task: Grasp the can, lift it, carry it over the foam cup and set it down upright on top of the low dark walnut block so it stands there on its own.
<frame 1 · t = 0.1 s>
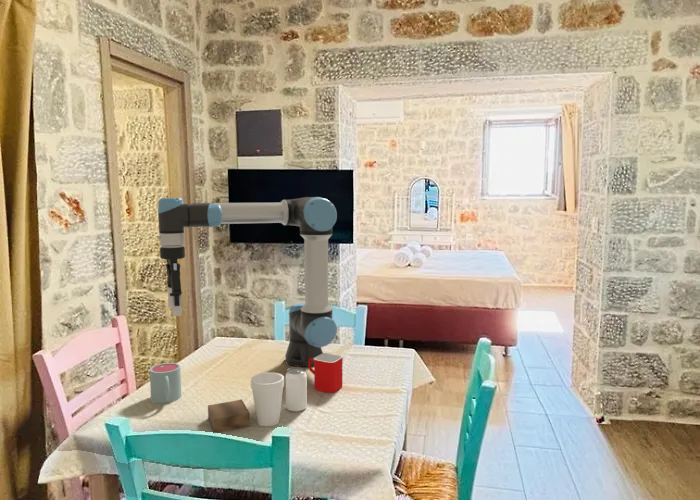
hand: (174, 311, 160), 28 cm above the table, fingers open, 13 cm apart
can: (296, 408, 152), on the table
walnut block: (228, 422, 142), on the table
mug: (323, 387, 169), on the table
foam cup: (268, 421, 143), on the table
mug 2: (166, 400, 158), on the table
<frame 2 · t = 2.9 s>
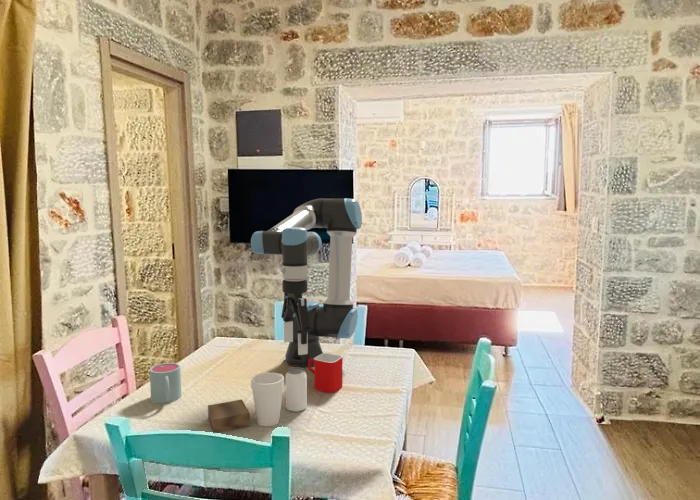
hand: (295, 347, 150), 19 cm above the table, fingers open, 13 cm apart
nothing on the table moved.
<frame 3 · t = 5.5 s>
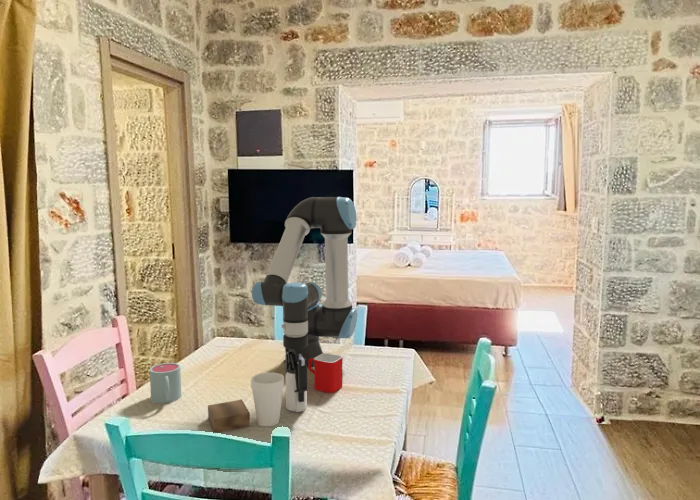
hand: (296, 406, 152), 0 cm above the table, fingers closed on can, 6 cm apart
can: (296, 408, 152), on the table, touching gripper
everything else where it was.
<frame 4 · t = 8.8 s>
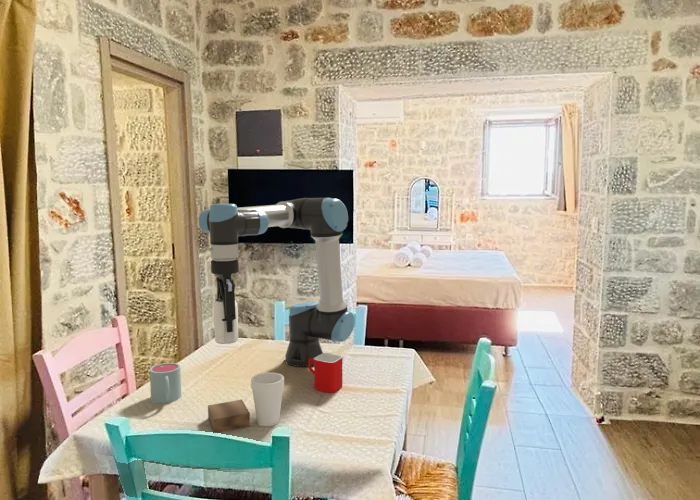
hand: (226, 339, 140), 25 cm above the table, fingers closed on can, 6 cm apart
can: (226, 341, 140), point 24 cm above the table, touching gripper
everything else where it was.
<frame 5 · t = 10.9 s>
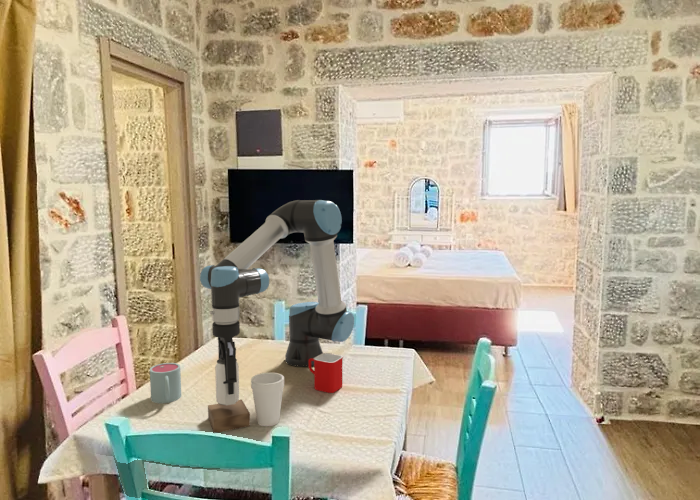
hand: (227, 399, 142), 7 cm above the table, fingers closed on can, 6 cm apart
can: (227, 401, 142), point 6 cm above the table, touching gripper
everything else where it was.
when the fingers open (5 cm above the table, at t = 12.4 s): can stays where it is, resting on walnut block.
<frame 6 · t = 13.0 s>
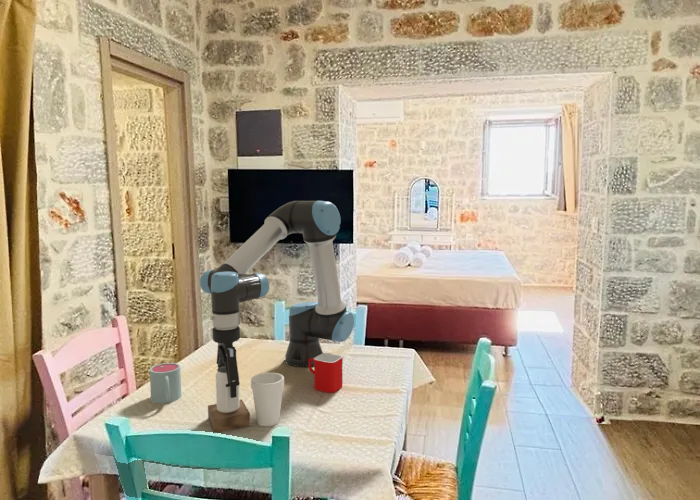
hand: (228, 398, 142), 7 cm above the table, fingers open, 13 cm apart
can: (228, 409, 142), point 4 cm above the table, touching walnut block
everything else where it was.
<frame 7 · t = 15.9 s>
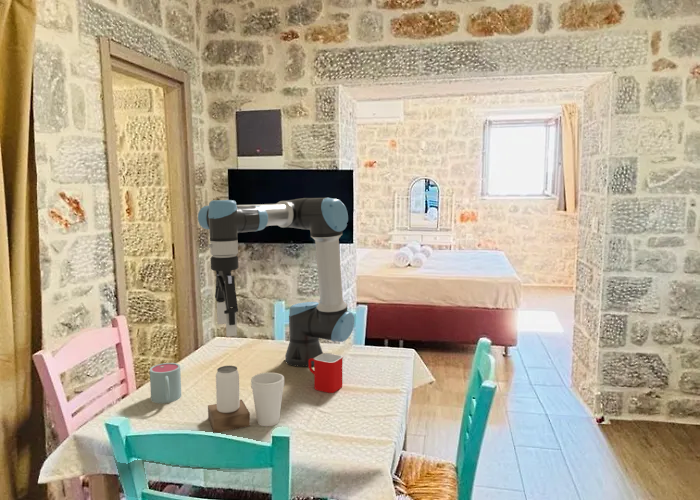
hand: (226, 329, 140), 28 cm above the table, fingers open, 13 cm apart
nothing on the table moved.
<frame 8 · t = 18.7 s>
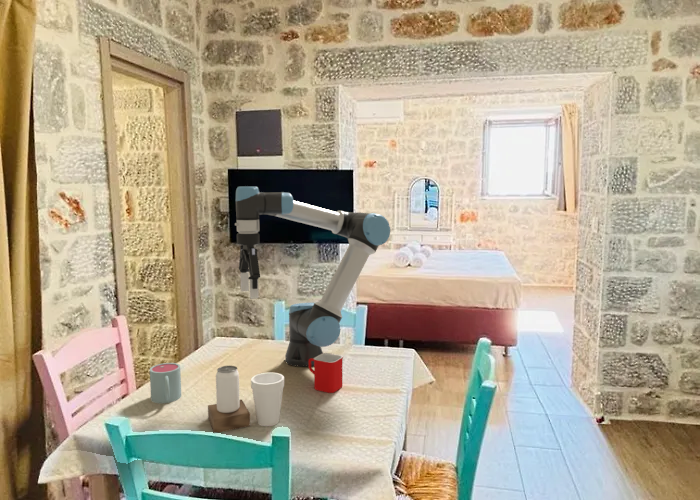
hand: (249, 294, 168), 32 cm above the table, fingers open, 13 cm apart
nothing on the table moved.
at the end: can inside the target area on the walnut block (0.1 cm from its centre), point 3.8 cm above the walnut block's base; can tilted 0°; the gripper is holding nothing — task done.
